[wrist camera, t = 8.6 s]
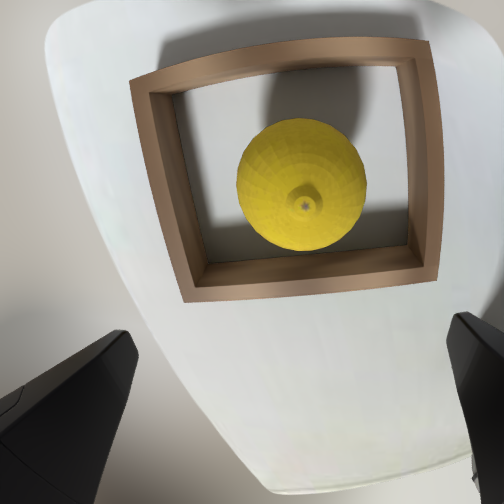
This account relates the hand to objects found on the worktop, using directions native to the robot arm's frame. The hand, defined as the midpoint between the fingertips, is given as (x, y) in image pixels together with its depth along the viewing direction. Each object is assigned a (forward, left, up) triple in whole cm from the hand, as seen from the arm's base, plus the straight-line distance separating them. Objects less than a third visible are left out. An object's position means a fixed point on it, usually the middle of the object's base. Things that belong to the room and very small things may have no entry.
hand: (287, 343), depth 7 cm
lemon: (-1, -2, -12) cm, 12 cm away
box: (-1, -2, -11) cm, 11 cm away
